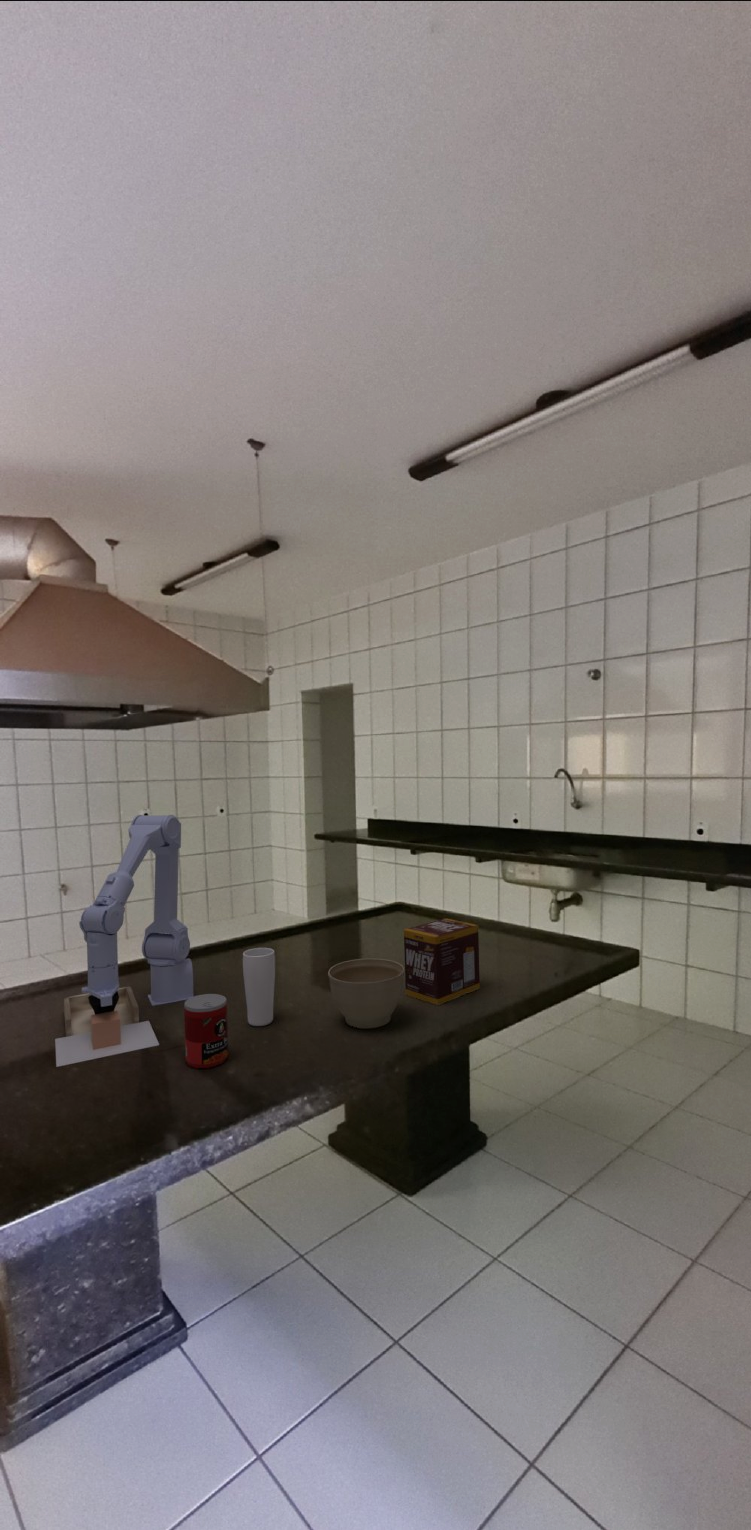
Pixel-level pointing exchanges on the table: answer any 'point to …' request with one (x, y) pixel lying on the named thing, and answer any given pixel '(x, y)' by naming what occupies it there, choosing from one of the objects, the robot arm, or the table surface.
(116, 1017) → the block
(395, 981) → the planter bowl
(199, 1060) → the canned food
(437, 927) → the supplement box
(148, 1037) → the mat
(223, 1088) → the table surface
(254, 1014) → the drinking glass
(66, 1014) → the open box
